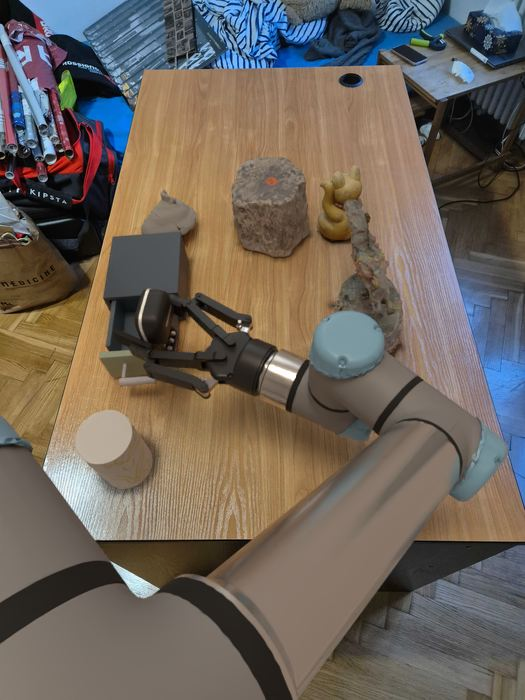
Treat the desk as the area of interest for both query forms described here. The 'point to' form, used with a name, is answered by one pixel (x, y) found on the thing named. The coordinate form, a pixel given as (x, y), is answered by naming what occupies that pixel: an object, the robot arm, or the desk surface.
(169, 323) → the battery charger
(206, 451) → the desk surface
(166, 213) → the grey clay mound
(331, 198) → the decorative figurine
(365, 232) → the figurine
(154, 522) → the desk surface
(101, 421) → the cup
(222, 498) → the desk surface
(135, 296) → the cabinet
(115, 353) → the drawer
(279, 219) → the petrified wood
